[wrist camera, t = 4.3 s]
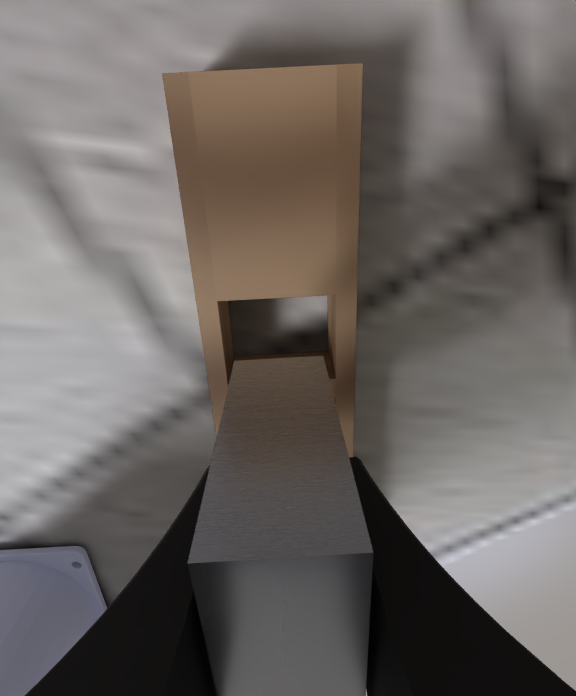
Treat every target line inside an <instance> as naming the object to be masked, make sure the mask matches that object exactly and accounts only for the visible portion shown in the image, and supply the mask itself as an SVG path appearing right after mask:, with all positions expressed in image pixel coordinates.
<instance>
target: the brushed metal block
mask: <svg viewBox="0 0 576 696" xmlns="http://www.w3.org/2000/svg"><path fill="white" fill-rule="evenodd" d="M187 564H188V568H189V573H190V577H191V581H192V586H193V590H194V595H195V599H196V604H197V608H198V612H199V617H200V621H201V626H202V630H203V634H204V639H205V643H206V648H207V652H208V656H209V661H210V665H211V670H212V674H213V679H214V683H215V687H216V692H217V696H366V679H367V661H368V642H369V624H370V606H371V587H372V569H373V549H372V545H371V541H370V537H369V533H368V530H367V526H366V522H365V518H364V514H363V510H362V506H361V502H360V498H359V494H358V490H357V486H356V483H355V479H354V475H353V471H352V467H351V463H350V459H349V455H348V451H347V447H346V443H345V440H344V436H343V432H342V428H341V424H340V420H339V416H338V412H337V408H336V404H335V400H334V396H333V393H332V389H331V385H330V381H329V377H328V373H327V369H326V365H325V361H324V357H323V356H309V357H292V358H274V359H257V360H239V361H234V364H233V368H232V373H231V377H230V381H229V386H228V390H227V394H226V399H225V403H224V407H223V412H222V416H221V420H220V425H219V429H218V433H217V438H216V442H215V446H214V451H213V455H212V459H211V464H210V468H209V472H208V477H207V481H206V485H205V490H204V494H203V498H202V503H201V507H200V511H199V516H198V520H197V524H196V529H195V533H194V537H193V542H192V546H191V550H190V555H189V559H188V563H187Z"/></svg>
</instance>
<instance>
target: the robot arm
mask: <svg viewBox="0 0 576 696" xmlns="http://www.w3.org/2000/svg"><path fill="white" fill-rule="evenodd" d="M349 459H350V463H351V467H352V471H353V475H354V479H355V483H356V486H357V490H358V494H359V498H360V502H361V506H362V510H363V514H364V518H365V522H366V526H367V530H368V533H369V537H370V541H371V545H372V549H373V569H372V587H371V606H370V624H369V642H368V661H367V679H366V690H367V696H576V691H575V690H574V689H572V688H571V687H570V686H569V685H568V684H566V683H565V682H564V681H563V680H562V679H561V678H559V677H558V676H557V675H556V674H555V673H554V672H553V671H551V670H550V669H549V668H548V667H547V666H546V665H545V664H543V663H542V662H541V661H540V660H539V659H538V658H536V657H535V656H534V655H533V654H532V653H531V652H530V651H529V650H527V649H526V648H525V647H524V646H523V645H522V644H521V643H519V642H518V641H517V640H516V639H515V638H514V637H513V636H511V635H510V634H509V633H508V632H507V631H506V630H505V629H504V628H502V626H500V625H499V624H498V623H497V622H496V621H495V620H494V619H493V618H492V617H491V616H490V615H489V614H488V613H487V612H486V611H485V610H484V609H483V608H482V607H481V606H479V604H478V603H476V602H475V601H474V600H473V598H472V597H471V596H470V595H469V594H468V593H467V592H466V591H465V590H464V589H463V588H462V587H461V586H460V585H459V584H458V583H457V582H456V581H455V580H454V579H453V578H452V577H451V576H450V575H449V574H448V573H447V572H446V571H445V569H444V568H443V567H442V566H441V565H440V564H439V563H438V562H437V561H436V560H435V558H434V557H433V556H432V555H431V554H430V553H429V552H428V550H427V549H426V548H425V547H424V546H423V545H422V544H421V542H420V541H419V540H418V539H417V538H416V536H415V535H414V534H413V533H412V532H411V530H410V529H409V528H408V527H407V525H406V524H405V523H404V521H403V520H402V519H401V518H400V516H399V515H398V514H397V512H396V511H395V510H394V509H393V507H392V506H391V505H390V503H389V502H388V501H387V499H386V498H385V497H384V495H383V494H382V492H381V491H380V489H379V488H378V487H377V485H376V484H375V482H374V481H373V479H372V478H371V476H370V475H369V473H368V472H367V470H366V468H365V467H364V465H363V463H362V462H361V460H360V459H359V458H357V457H349ZM209 468H210V466H209V467H208V468H207V469H206V471H205V473H204V475H203V476H202V478H201V480H200V482H199V483H198V485H197V487H196V488H195V490H194V492H193V493H192V495H191V496H190V498H189V500H188V501H187V503H186V504H185V506H184V508H183V509H182V511H181V512H180V514H179V515H178V516H177V518H176V519H175V521H174V522H173V524H172V525H171V527H170V528H169V530H168V531H167V533H166V534H165V536H164V537H163V538H162V540H161V541H160V543H159V544H158V545H157V547H156V548H155V549H154V551H153V552H152V553H151V555H150V556H149V557H148V559H147V560H146V561H145V563H144V564H143V565H142V567H141V568H140V569H139V571H138V572H137V573H136V574H135V576H134V577H133V578H132V579H131V581H130V582H129V583H128V584H127V586H126V587H125V588H124V589H123V591H122V592H121V593H120V594H119V595H118V597H117V598H116V599H115V600H114V601H113V602H112V604H111V605H110V606H109V607H108V608H107V606H106V604H105V601H104V598H103V595H102V593H101V590H100V587H99V584H98V582H97V579H96V576H95V574H94V571H93V568H92V565H91V563H90V560H89V557H88V555H87V552H86V550H85V549H84V548H82V547H80V546H64V547H47V548H29V549H12V550H0V696H217V692H216V687H215V683H214V679H213V674H212V670H211V665H210V661H209V656H208V652H207V648H206V643H205V639H204V634H203V630H202V626H201V621H200V617H199V612H198V608H197V604H196V599H195V595H194V590H193V586H192V581H191V577H190V573H189V568H188V564H187V563H188V559H189V555H190V550H191V546H192V542H193V537H194V533H195V529H196V524H197V520H198V516H199V511H200V507H201V503H202V498H203V494H204V490H205V485H206V481H207V477H208V472H209Z"/></svg>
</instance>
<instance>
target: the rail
mask: <svg viewBox="0 0 576 696" xmlns="http://www.w3.org/2000/svg"><path fill="white" fill-rule="evenodd" d="M362 73H363V63H357V64H337V65H317V66H298V67H278V68H259V69H239V70H219V71H200V72H180V73H162V76H163V83H164V90H165V96H166V103H167V110H168V116H169V123H170V130H171V136H172V143H173V150H174V157H175V163H176V170H177V177H178V183H179V190H180V197H181V204H182V210H183V217H184V224H185V230H186V237H187V244H188V250H189V257H190V264H191V271H192V277H193V284H194V291H195V297H196V304H197V311H198V317H199V324H200V331H201V338H202V344H203V351H204V358H205V364H206V371H207V378H208V384H209V391H210V398H211V405H212V411H213V418H214V425H215V431H216V438H217V433H218V429H219V425H220V420H221V416H222V412H223V407H224V403H225V399H226V394H227V390H228V386H229V381H230V377H231V373H232V368H233V364H234V361H239V360H257V359H274V358H292V357H309V356H323V357H324V361H325V365H326V369H327V373H328V377H329V381H330V385H331V389H332V393H333V396H334V400H335V404H336V408H337V412H338V416H339V420H340V424H341V428H342V432H343V436H344V440H345V443H346V447H347V451H348V455H349V457H353V437H354V396H355V356H356V315H357V275H358V235H359V194H360V154H361V113H362ZM324 295H327V299H328V351H318V352H300V353H282V354H264V355H245V356H234V348H233V339H232V331H231V322H230V313H229V304H228V301H232V300H250V299H269V298H287V297H306V296H324Z"/></svg>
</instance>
